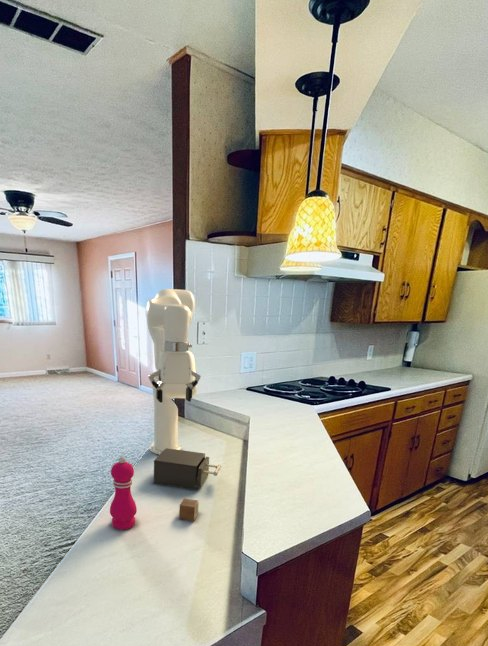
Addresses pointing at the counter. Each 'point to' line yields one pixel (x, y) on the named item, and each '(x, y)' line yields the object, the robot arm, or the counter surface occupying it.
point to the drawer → (205, 471)
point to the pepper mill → (122, 496)
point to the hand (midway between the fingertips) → (174, 401)
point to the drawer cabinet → (177, 468)
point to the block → (188, 509)
